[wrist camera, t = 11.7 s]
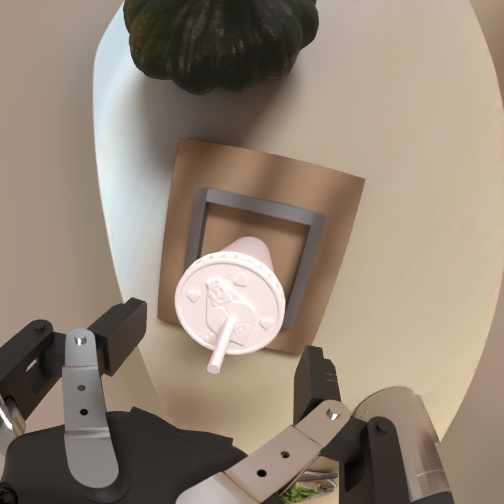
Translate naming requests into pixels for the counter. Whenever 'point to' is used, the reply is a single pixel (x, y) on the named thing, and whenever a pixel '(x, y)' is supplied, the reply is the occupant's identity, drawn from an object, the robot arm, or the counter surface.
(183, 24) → the squash
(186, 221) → the base board
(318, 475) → the salad plate
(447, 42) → the counter surface
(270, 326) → the smoothie
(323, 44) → the counter surface
